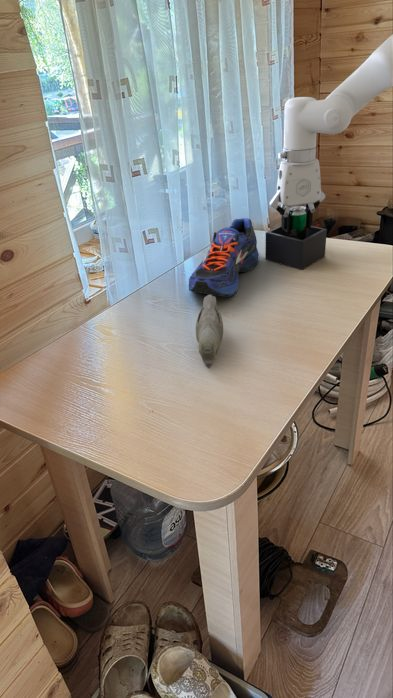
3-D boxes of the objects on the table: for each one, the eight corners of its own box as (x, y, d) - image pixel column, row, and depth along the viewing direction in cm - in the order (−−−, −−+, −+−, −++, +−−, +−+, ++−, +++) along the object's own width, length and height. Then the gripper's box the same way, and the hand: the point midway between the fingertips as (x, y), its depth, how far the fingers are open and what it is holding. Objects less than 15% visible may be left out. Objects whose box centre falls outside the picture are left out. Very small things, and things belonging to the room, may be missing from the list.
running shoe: (176, 306, 118) (171, 254, 111) (220, 253, 143) (218, 208, 136) (227, 312, 114) (225, 259, 107) (263, 256, 139) (263, 210, 132)
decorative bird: (194, 369, 96) (191, 335, 92) (198, 326, 109) (196, 294, 105) (223, 368, 95) (221, 334, 91) (224, 325, 109) (223, 294, 105)
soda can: (281, 253, 136) (282, 208, 130) (295, 248, 139) (297, 203, 132) (295, 258, 133) (297, 212, 126) (309, 253, 135) (311, 207, 129)
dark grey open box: (325, 256, 136) (327, 229, 132) (301, 270, 130) (303, 241, 126) (288, 247, 143) (289, 220, 139) (265, 259, 137) (265, 232, 133)
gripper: (272, 163, 118) (271, 238, 127) (339, 153, 121) (333, 228, 131) (259, 156, 124) (260, 229, 133) (324, 147, 127) (320, 219, 137)
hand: (296, 228), depth 132 cm, fingers closed on soda can, 5 cm apart
